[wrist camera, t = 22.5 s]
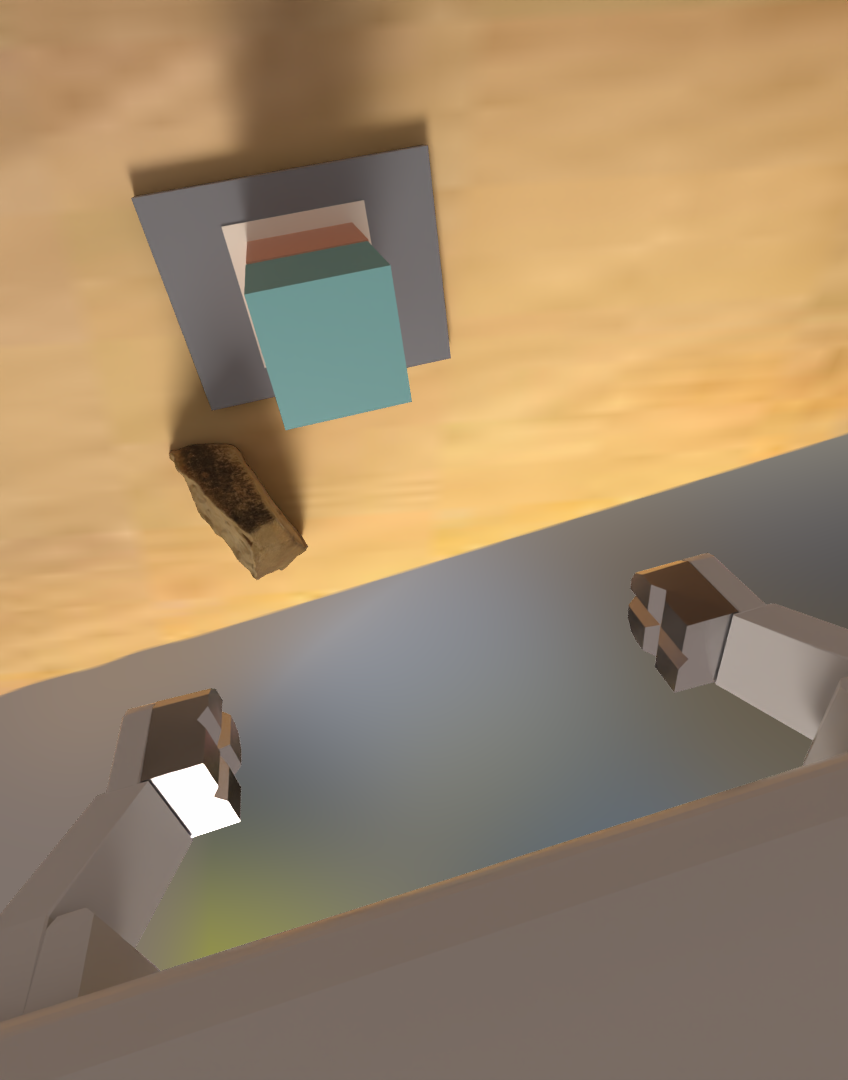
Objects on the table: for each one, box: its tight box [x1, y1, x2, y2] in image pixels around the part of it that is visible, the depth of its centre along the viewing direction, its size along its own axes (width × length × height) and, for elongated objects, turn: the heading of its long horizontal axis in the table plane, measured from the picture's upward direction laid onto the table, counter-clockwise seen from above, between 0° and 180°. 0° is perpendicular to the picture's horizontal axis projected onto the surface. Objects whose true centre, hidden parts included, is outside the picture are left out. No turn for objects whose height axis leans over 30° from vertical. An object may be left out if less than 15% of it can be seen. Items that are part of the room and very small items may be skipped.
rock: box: [169, 444, 308, 580], centre depth 41 cm, size 11×9×10 cm
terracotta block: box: [246, 222, 369, 265], centre depth 33 cm, size 6×6×6 cm
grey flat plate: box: [131, 145, 451, 410], centre depth 35 cm, size 16×12×1 cm
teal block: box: [244, 241, 412, 430], centre depth 28 cm, size 6×6×6 cm
